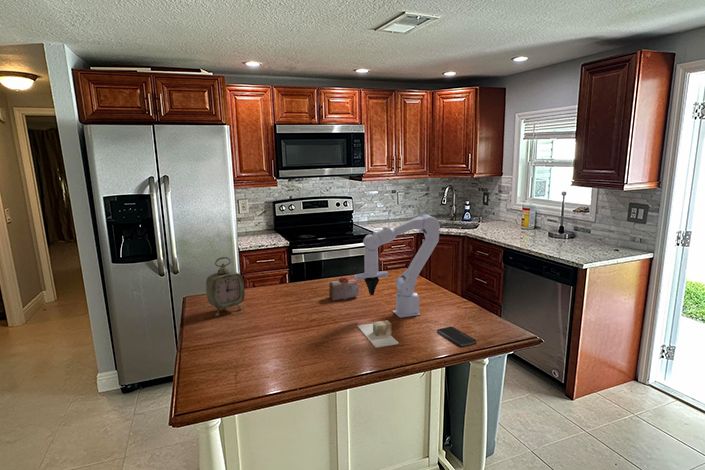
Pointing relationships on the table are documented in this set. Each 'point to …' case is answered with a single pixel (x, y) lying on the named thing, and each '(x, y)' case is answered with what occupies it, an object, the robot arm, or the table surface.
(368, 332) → the mat
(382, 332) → the tan and green sponge
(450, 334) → the phone
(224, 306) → the tabletop clock
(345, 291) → the grey carrying case
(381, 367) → the table surface
